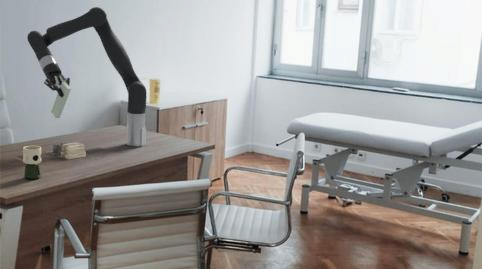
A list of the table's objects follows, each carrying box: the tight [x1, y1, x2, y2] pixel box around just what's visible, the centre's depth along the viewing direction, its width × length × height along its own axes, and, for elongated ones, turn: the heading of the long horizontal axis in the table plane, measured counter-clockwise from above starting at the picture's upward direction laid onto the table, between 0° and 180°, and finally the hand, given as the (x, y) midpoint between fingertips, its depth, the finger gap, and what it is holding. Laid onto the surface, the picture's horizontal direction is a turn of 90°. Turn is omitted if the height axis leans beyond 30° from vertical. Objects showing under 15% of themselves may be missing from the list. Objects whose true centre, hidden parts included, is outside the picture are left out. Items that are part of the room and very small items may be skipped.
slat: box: [50, 82, 72, 119], centre depth 278 cm, size 5×2×18 cm
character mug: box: [22, 145, 42, 180], centre depth 241 cm, size 11×7×13 cm, turn 162°
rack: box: [45, 141, 88, 161], centre depth 278 cm, size 18×12×7 cm, turn 50°
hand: (65, 96), depth 276 cm, fingers closed on slat, 2 cm apart
